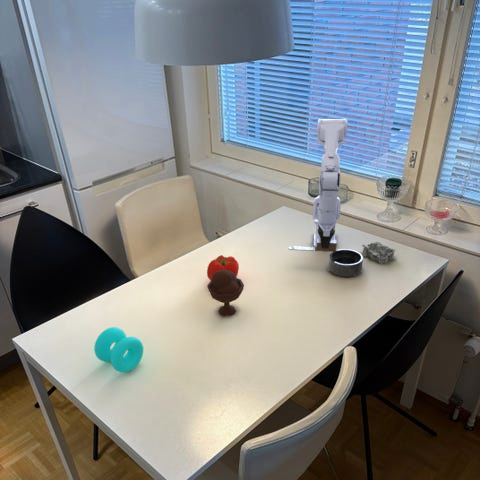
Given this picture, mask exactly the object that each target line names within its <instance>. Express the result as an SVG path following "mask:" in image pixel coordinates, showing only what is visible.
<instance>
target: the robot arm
mask: <svg viewBox="0 0 480 480" xmlns="http://www.w3.org/2000/svg"><path fill="white" fill-rule="evenodd" d="M316 132H317V133H316V137H317V144H318V145H320V146H322V148H323V152H324V154H323V155H322V157H321V166H320V169H321V170H320V174H319V175H318V176H319V177H318V191H319V192H318V194H319V195H317V196H316V197H314V199H313V205H312V207H313V208H312V219H313V220H314V223H313V224H314V225H315V231H314V232H315V233H314V234H313V247H315V243H317V240H321V246H322V249H328V248H329V245H330V241H331V240H336V234H335V233H336V225H337V222H338V221H339V220H340V219H341V199H340V197H339V191H340V188H341V182H342V181H341V179H342V178H341V177H342V175H341V169H340V165H341V164H340V163H341V158H340V155H339V154H338V153H337V152H338V149H339V147H340V146H343V145H344V144H345V142H346V139H347V133H348V120H347V118H341V119H340V118H339V119H338V118H336V119H334V118H332V119H331V118H326V119H325V118H323V119H322V118H319V119H318V120H317V130H316Z"/></svg>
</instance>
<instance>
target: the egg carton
mask: <svg viewBox="0 0 480 480" xmlns="http://www.w3.org/2000/svg"><path fill="white" fill-rule="evenodd" d="M362 247H363V249H362V254H363V257H369V258H370V260H372V261H378V262H377V263H379V264H387V263H388V261H393V260H394V255H395V253H396V251H397V249H395V248H394V249H393V248H391V247H390V246H388V245H385V244H382V243H381V242H380V241H374V242H370V243H368V244H367V245H366V244H362Z"/></svg>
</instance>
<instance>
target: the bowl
mask: <svg viewBox="0 0 480 480" xmlns="http://www.w3.org/2000/svg"><path fill="white" fill-rule="evenodd" d="M363 261H364V255H362V254H361V253H360V252H359V251H357V250H354V249H350V248H340V249H336V252H330V254H329V257H328V270H329V272H331V274H333V275H335V276H338V277H344V278H345V277H347V278H349V277H355V276H358V275H359V274H361V272H362V271H363V270H362V269H363Z"/></svg>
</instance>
